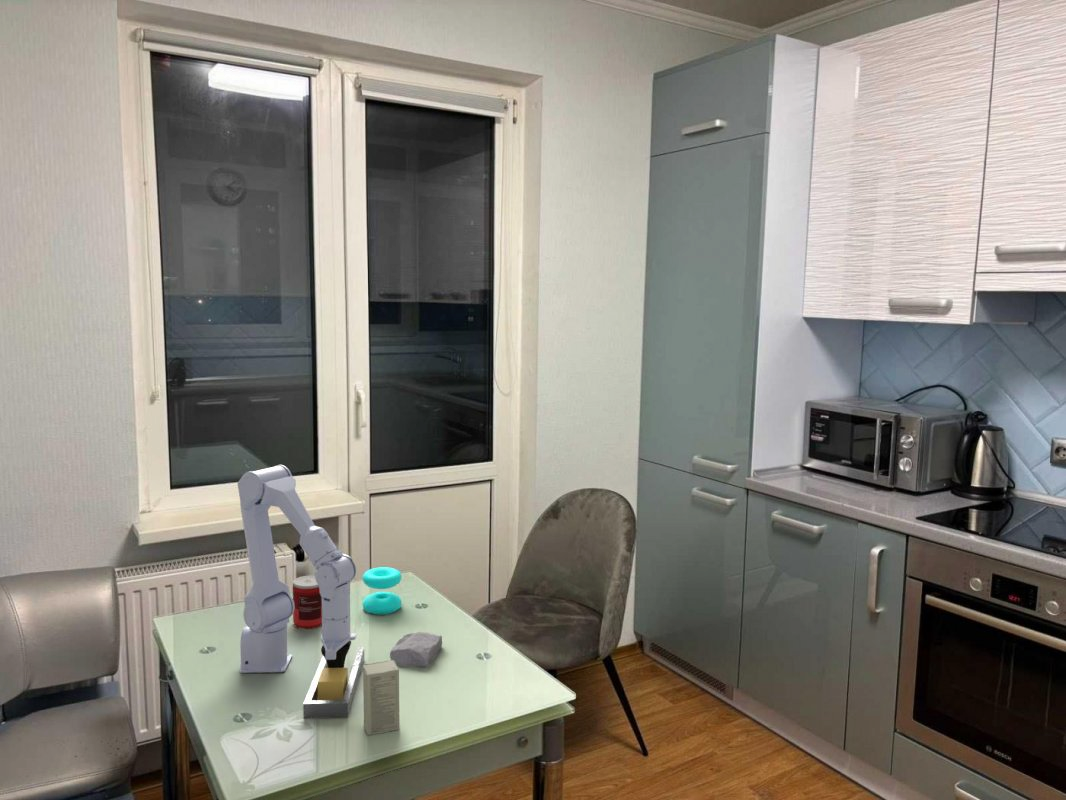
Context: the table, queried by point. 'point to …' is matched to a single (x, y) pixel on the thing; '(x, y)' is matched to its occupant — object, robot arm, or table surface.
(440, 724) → the table surface
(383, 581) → the donuts
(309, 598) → the canned food
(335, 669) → the block
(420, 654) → the stone block
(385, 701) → the skincare box
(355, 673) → the chute
